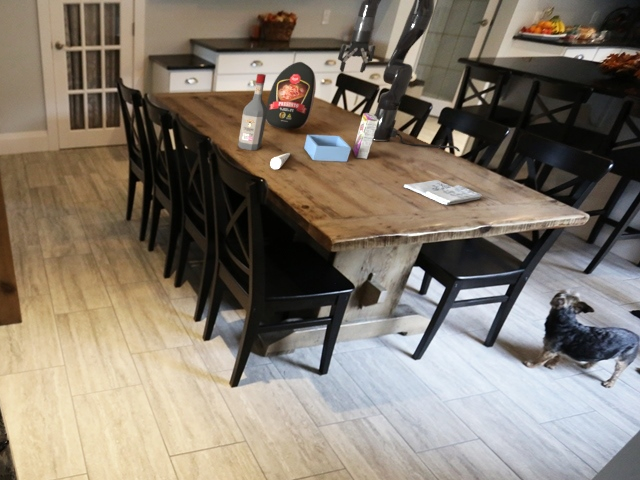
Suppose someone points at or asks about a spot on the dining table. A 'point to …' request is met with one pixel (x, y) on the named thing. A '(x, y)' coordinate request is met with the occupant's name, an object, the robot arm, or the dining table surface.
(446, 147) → the robot arm
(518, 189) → the dining table surface
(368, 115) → the candy bar box
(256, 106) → the liquor
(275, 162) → the unicorn horn
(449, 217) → the dining table surface
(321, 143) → the crate
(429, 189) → the folded newspaper
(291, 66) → the packaged food
